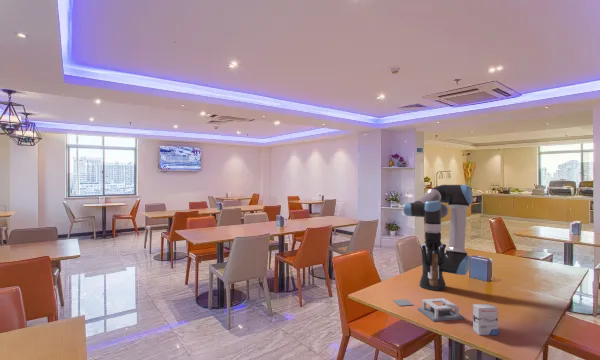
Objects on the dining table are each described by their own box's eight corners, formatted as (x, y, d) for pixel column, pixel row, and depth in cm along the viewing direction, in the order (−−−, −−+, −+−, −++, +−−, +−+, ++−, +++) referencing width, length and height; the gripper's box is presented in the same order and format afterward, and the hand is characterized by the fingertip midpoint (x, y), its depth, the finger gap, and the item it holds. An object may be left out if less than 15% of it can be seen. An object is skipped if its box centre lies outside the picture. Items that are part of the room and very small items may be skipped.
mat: (406, 299, 179) (406, 299, 179) (413, 305, 171) (413, 304, 171) (392, 300, 178) (392, 300, 178) (399, 306, 170) (399, 305, 170)
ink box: (491, 329, 143) (491, 303, 143) (498, 335, 138) (498, 307, 138) (472, 330, 142) (472, 303, 142) (479, 335, 137) (478, 308, 137)
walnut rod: (434, 283, 164) (434, 252, 164) (438, 285, 161) (437, 254, 161) (429, 284, 163) (428, 253, 163) (432, 286, 161) (432, 254, 160)
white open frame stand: (446, 307, 168) (446, 297, 168) (463, 319, 154) (463, 307, 154) (417, 309, 165) (417, 299, 165) (433, 321, 151) (433, 309, 151)
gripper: (442, 229, 168) (442, 274, 168) (414, 231, 164) (414, 276, 164) (451, 232, 160) (452, 279, 160) (422, 233, 157) (423, 281, 157)
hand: (433, 277), depth 162 cm, fingers closed on walnut rod, 3 cm apart
